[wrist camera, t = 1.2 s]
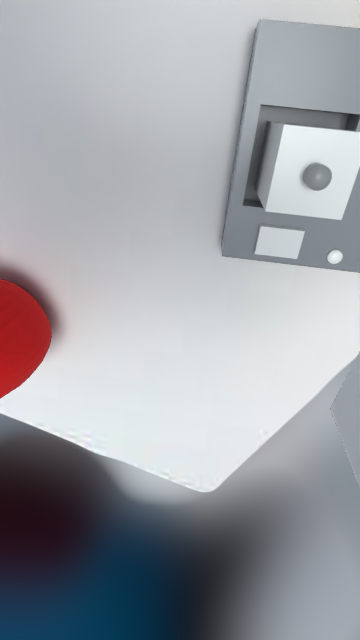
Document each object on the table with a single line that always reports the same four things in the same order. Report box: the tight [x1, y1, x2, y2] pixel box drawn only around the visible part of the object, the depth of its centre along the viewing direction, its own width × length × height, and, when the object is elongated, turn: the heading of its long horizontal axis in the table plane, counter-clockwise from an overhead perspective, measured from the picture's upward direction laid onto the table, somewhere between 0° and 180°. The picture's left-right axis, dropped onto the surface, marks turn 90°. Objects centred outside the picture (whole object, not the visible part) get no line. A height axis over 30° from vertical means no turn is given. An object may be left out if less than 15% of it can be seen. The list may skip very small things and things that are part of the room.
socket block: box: [222, 19, 360, 273], centre depth 26 cm, size 16×19×4 cm
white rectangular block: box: [255, 121, 360, 220], centre depth 24 cm, size 5×5×9 cm
